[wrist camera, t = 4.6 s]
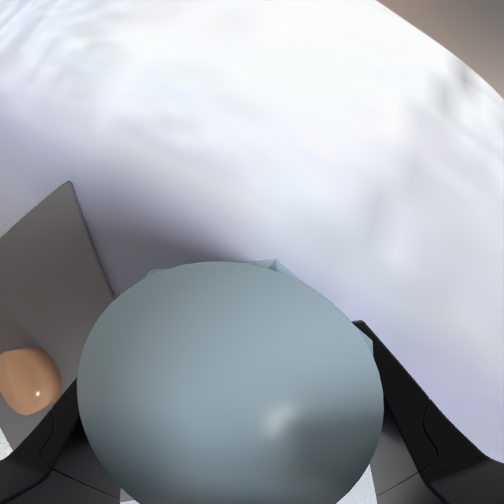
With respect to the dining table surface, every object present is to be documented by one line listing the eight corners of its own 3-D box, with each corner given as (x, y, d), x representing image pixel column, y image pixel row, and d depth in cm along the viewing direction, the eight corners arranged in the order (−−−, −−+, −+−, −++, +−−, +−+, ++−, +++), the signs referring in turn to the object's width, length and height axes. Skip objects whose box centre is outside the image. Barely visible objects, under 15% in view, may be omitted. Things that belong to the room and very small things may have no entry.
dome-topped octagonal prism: (323, 403, 15) (373, 522, 5) (192, 410, 16) (111, 518, 6) (315, 272, 16) (375, 246, 6) (180, 283, 16) (62, 272, 7)
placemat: (218, 475, 15) (217, 478, 15) (54, 506, 15) (52, 508, 15) (71, 182, 18) (68, 180, 17) (-45, 290, 18) (-49, 290, 17)
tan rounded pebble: (51, 416, 16) (29, 427, 13) (14, 377, 16) (-9, 383, 14) (69, 374, 16) (45, 383, 13) (29, 334, 16) (4, 337, 14)
